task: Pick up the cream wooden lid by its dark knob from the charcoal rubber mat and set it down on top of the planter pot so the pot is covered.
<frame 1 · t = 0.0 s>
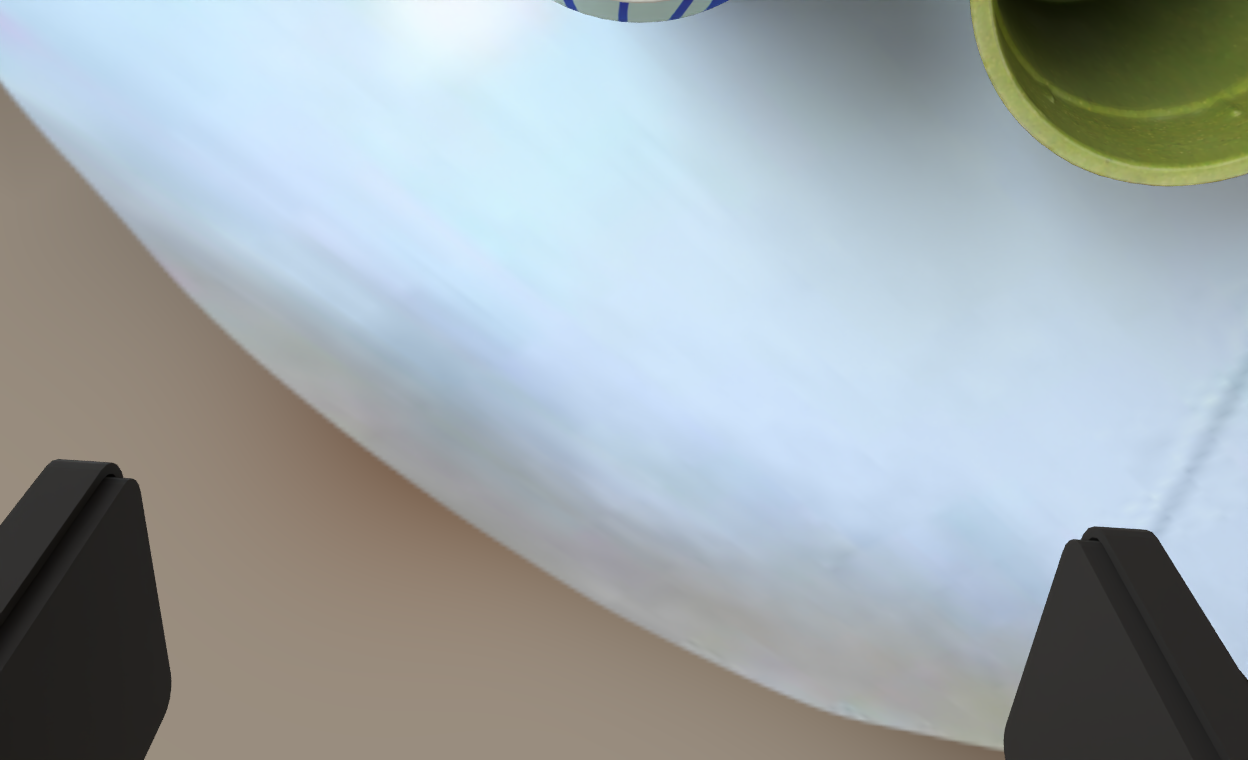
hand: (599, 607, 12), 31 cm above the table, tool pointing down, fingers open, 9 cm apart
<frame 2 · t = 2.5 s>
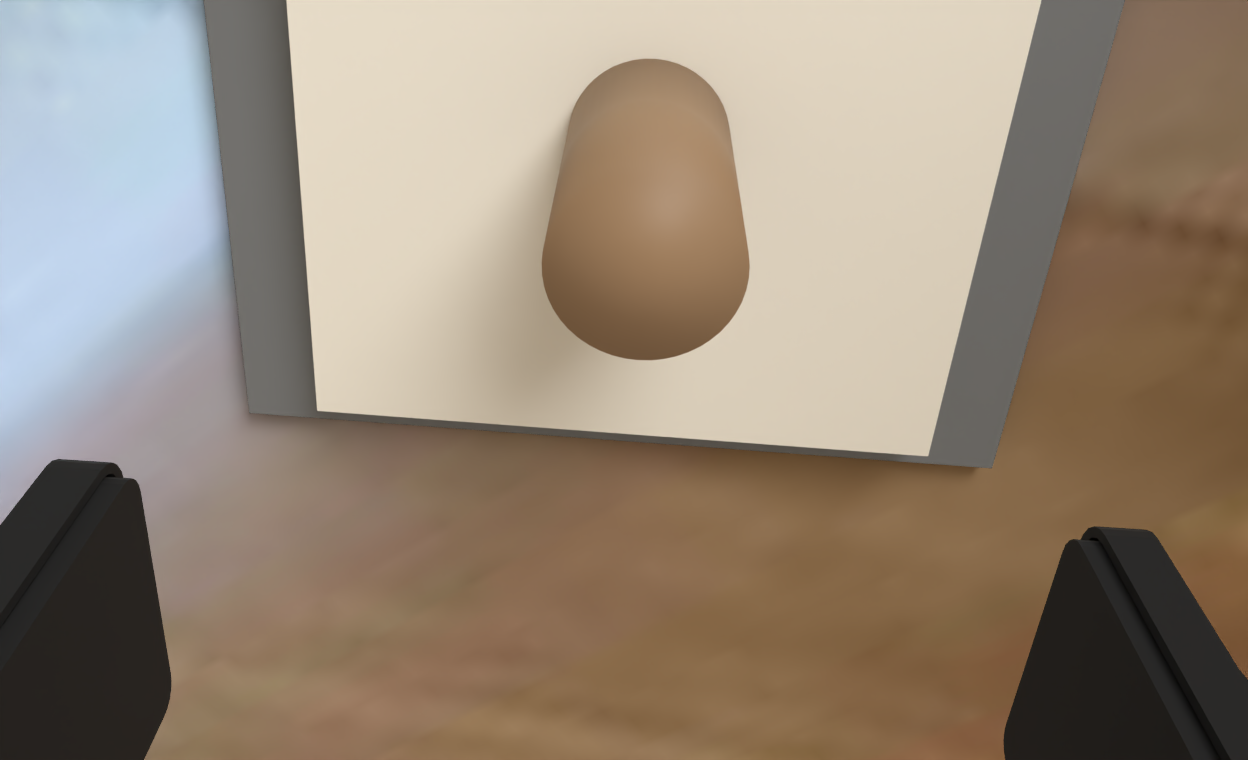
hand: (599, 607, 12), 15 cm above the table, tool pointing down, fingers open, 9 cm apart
mat: (649, 110, 25), on the table
lid: (649, 119, 24), point 1 cm above the table, touching mat
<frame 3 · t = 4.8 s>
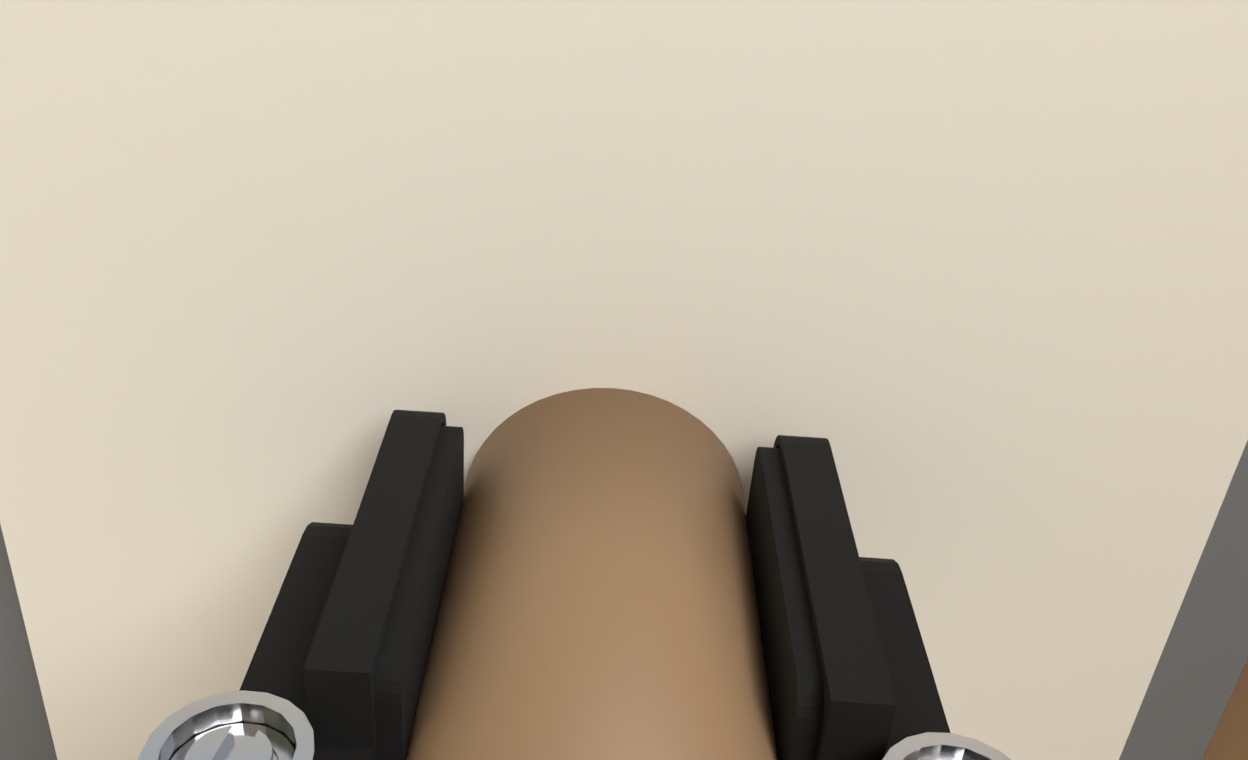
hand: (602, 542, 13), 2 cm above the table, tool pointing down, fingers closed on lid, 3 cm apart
mat: (607, 424, 15), on the table
lid: (606, 450, 14), point 1 cm above the table, touching gripper, mat
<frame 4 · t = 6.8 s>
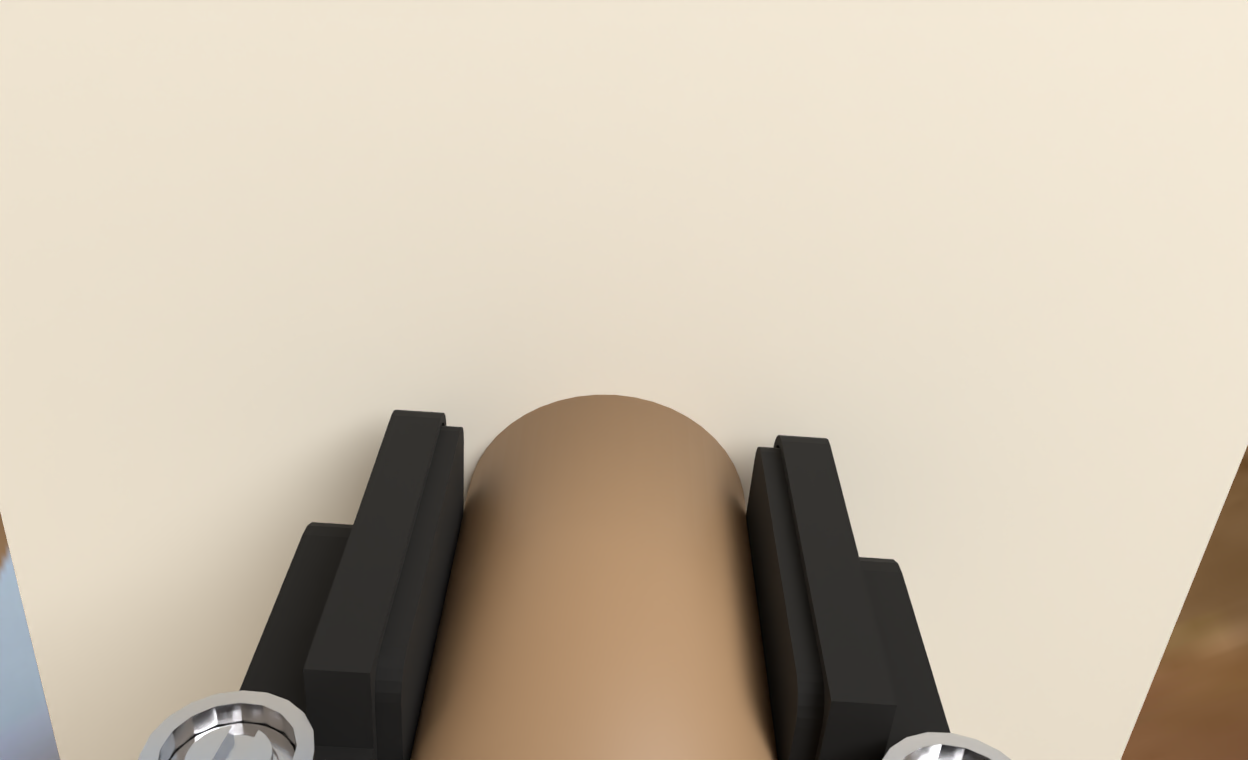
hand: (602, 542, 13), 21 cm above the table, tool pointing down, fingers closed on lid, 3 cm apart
lid: (608, 455, 15), point 19 cm above the table, touching gripper
when the fingers open (14 cm above the table, at t = 9.2 s): lid drops 1 cm, resting on plant pot.
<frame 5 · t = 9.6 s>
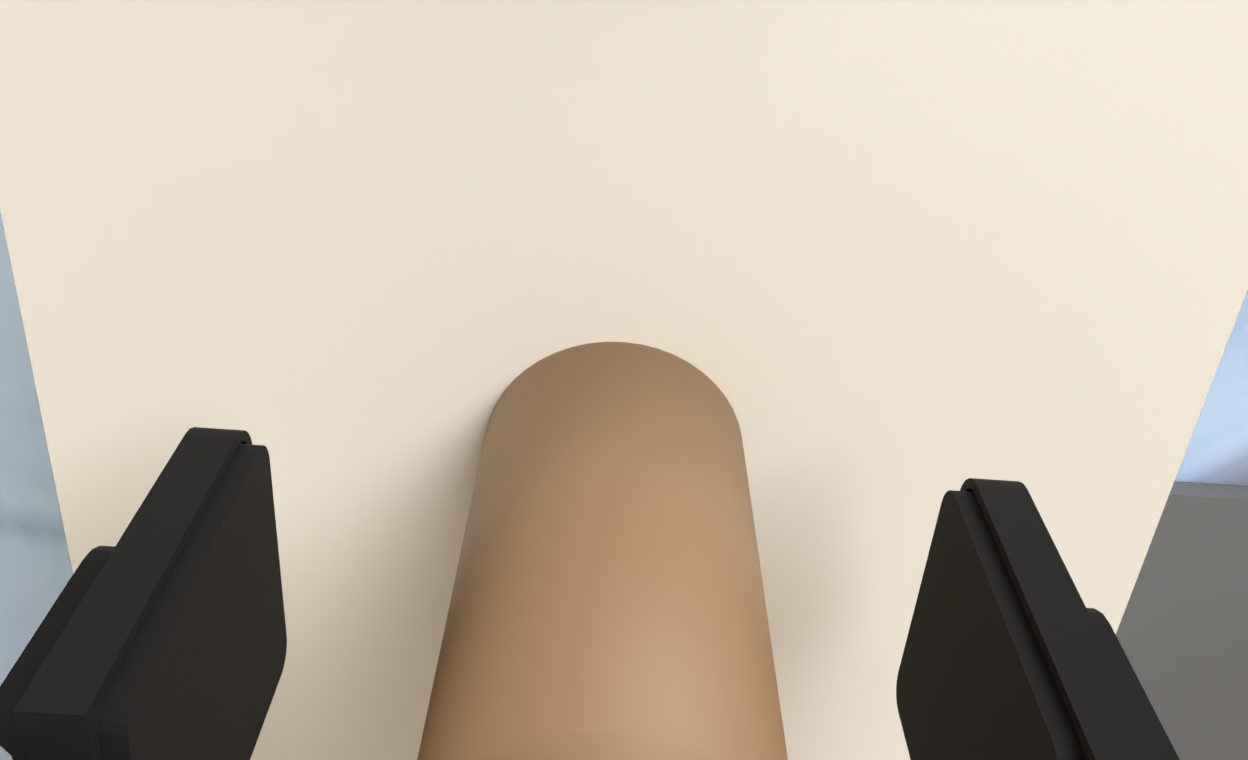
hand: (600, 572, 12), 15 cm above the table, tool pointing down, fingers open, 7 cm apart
mat: (999, 704, 34), on the table
lid: (615, 405, 16), point 11 cm above the table, touching plant pot
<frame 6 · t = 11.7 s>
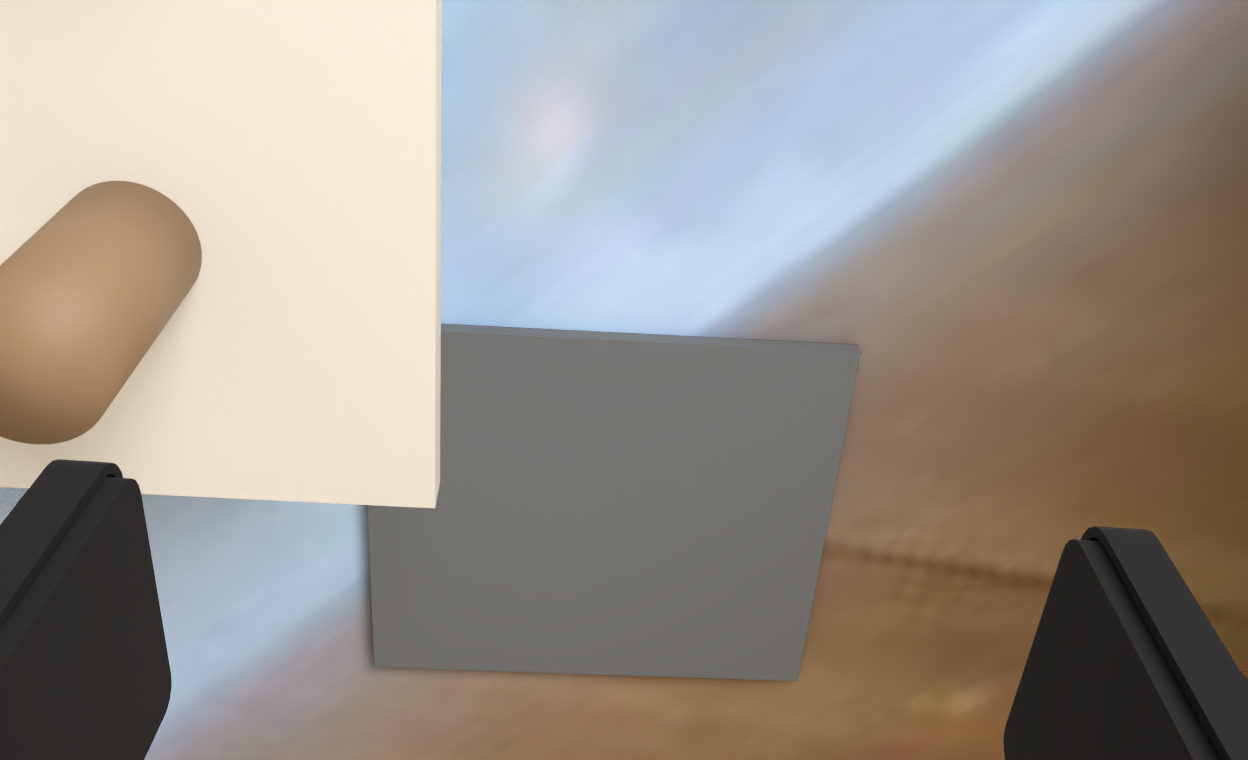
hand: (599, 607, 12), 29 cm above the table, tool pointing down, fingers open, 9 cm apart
mat: (599, 512, 46), on the table
lid: (148, 227, 28), point 11 cm above the table, touching plant pot
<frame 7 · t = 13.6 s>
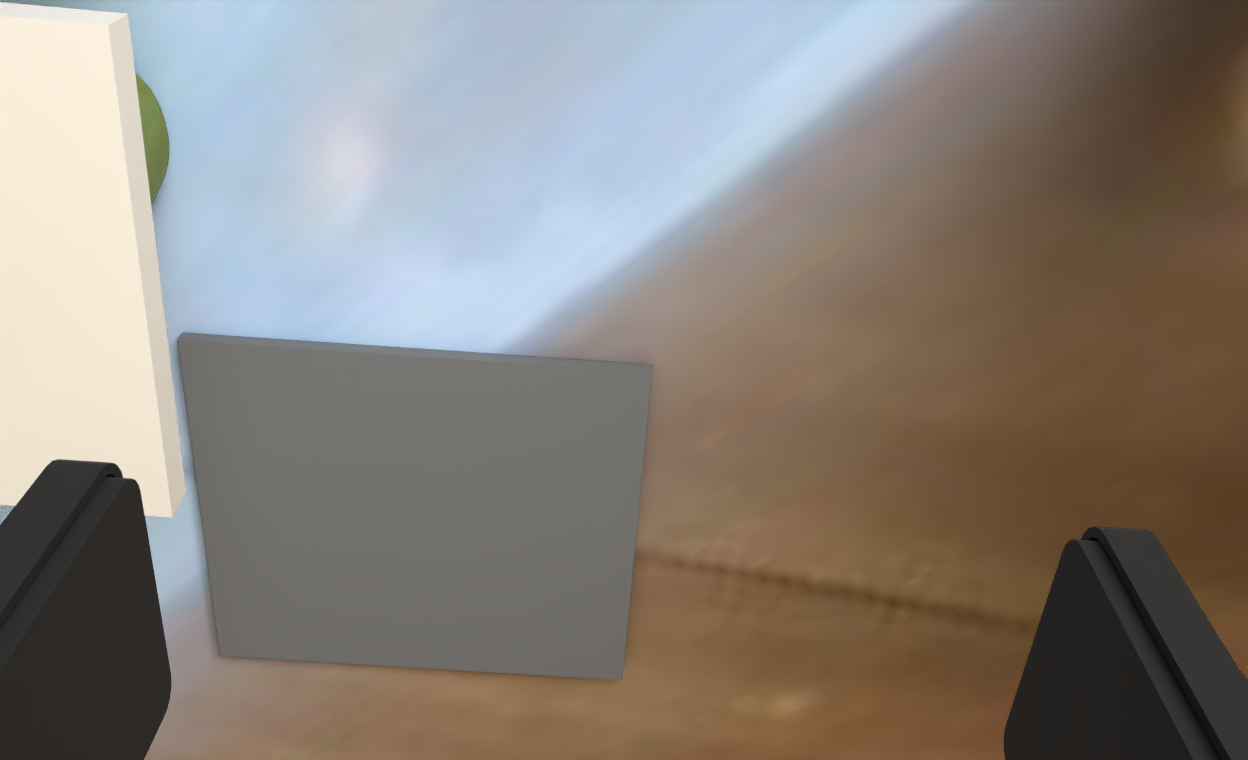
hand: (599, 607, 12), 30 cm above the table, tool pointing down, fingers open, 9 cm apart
mat: (421, 516, 49), on the table
plant pot: (71, 121, 41), on the table, touching lid
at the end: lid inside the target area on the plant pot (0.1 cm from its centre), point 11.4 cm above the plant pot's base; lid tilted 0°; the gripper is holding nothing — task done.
